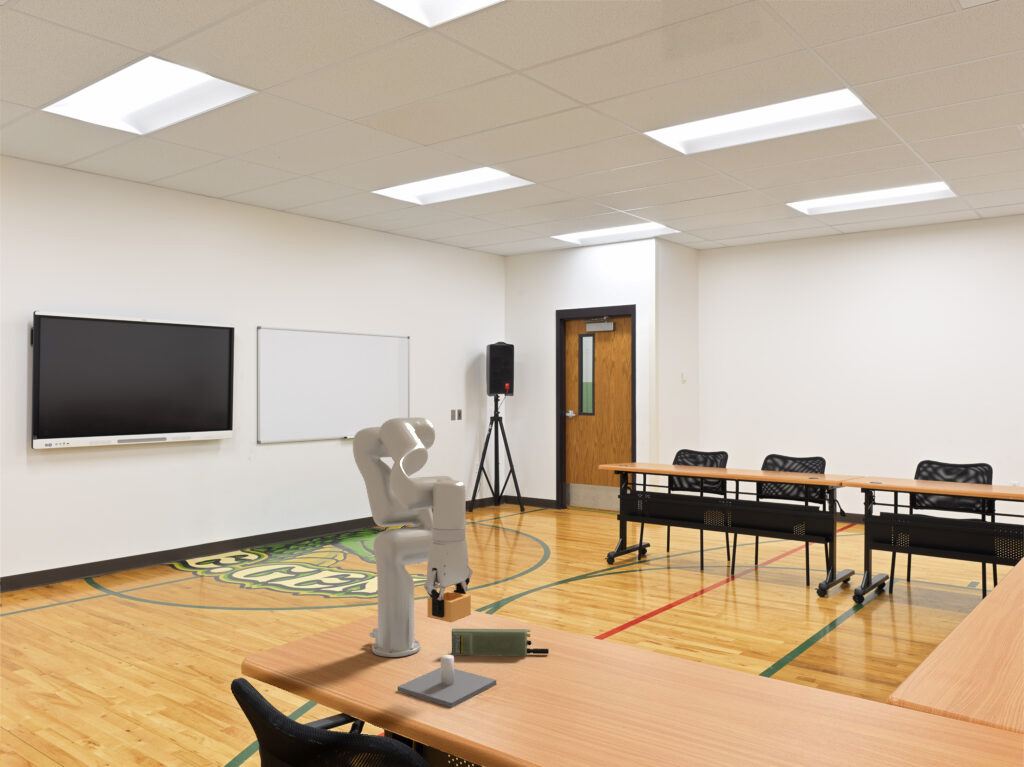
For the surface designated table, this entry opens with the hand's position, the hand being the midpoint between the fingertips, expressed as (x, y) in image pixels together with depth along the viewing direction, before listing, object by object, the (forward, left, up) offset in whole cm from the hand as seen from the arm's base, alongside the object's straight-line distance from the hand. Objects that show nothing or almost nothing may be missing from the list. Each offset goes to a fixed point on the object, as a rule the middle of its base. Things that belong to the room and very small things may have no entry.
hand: (449, 611), depth 178 cm
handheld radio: (-4, +24, -18) cm, 31 cm away
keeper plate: (0, 0, -17) cm, 17 cm away
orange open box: (0, 0, -1) cm, 1 cm away
